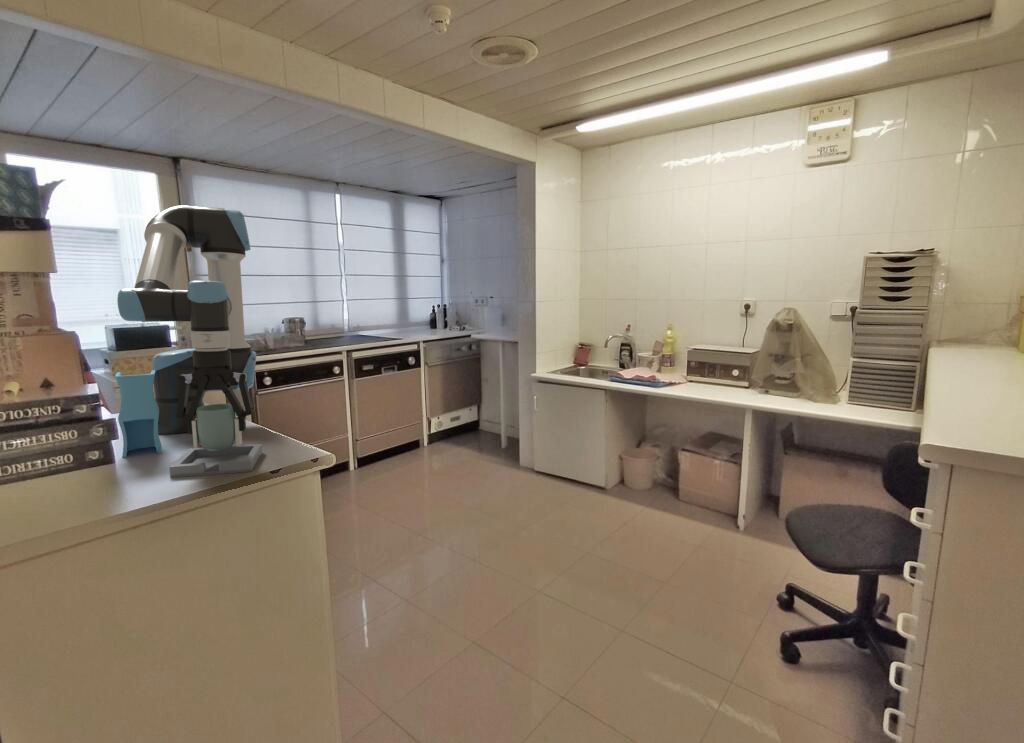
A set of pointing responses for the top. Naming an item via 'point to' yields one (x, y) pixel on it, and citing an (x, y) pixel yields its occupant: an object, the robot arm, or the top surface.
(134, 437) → the blue wavy stand
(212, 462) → the grey square tray
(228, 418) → the cup
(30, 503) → the top surface
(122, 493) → the top surface
